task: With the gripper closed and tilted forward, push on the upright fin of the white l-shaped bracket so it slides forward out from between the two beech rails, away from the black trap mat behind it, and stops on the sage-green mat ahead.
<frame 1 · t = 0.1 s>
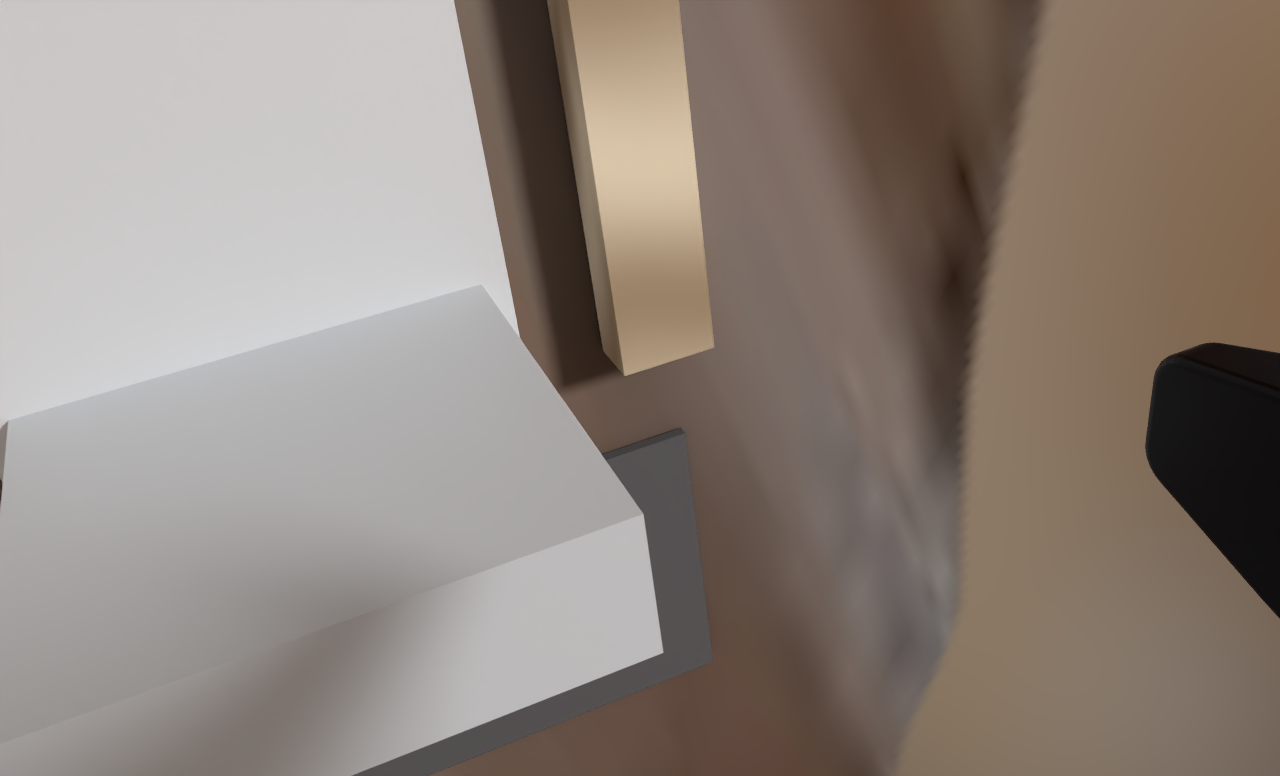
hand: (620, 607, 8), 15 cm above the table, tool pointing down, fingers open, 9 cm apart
white l-shaped bracket: (142, 3, 18), on the table, touching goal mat
channel: (174, 96, 19), on the table
trap mat: (368, 670, 26), on the table
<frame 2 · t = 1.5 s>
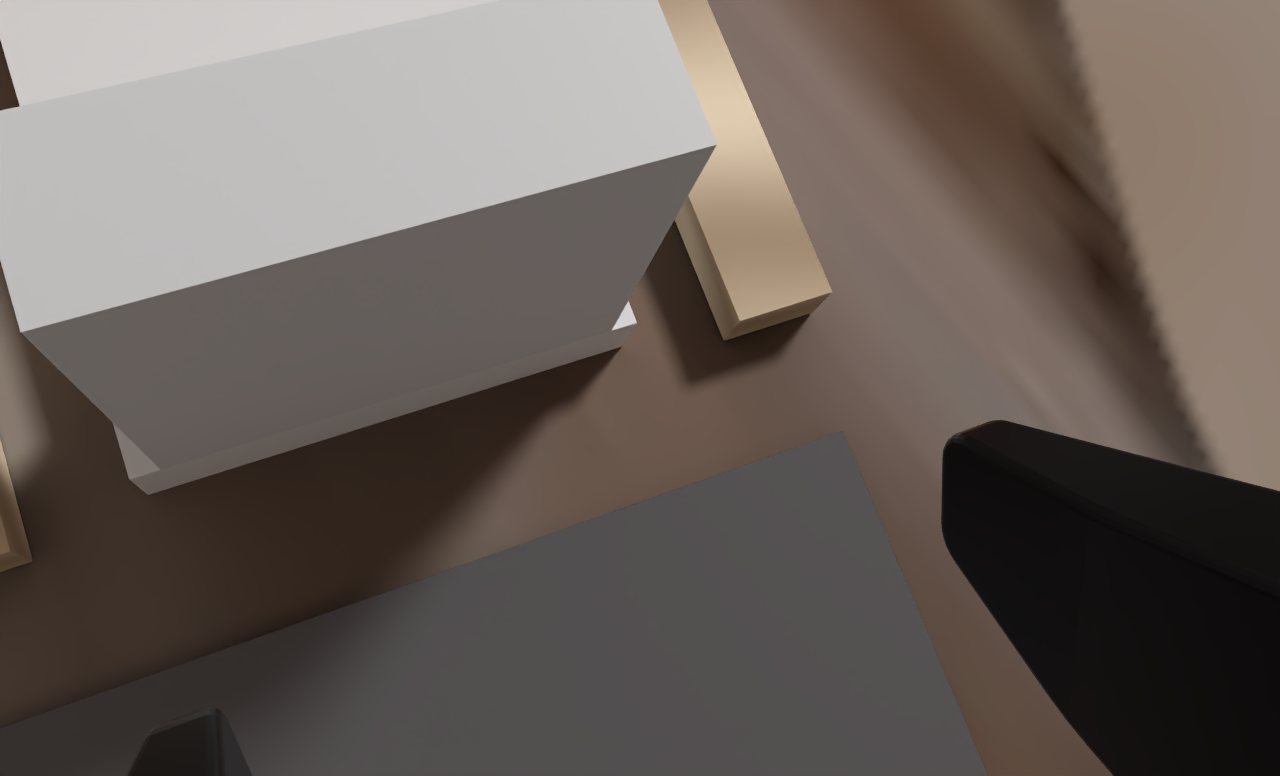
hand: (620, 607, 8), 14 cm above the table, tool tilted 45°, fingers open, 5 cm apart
white l-shaped bracket: (270, 41, 23), on the table, touching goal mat
channel: (293, 111, 23), on the table
trap mat: (515, 761, 20), on the table
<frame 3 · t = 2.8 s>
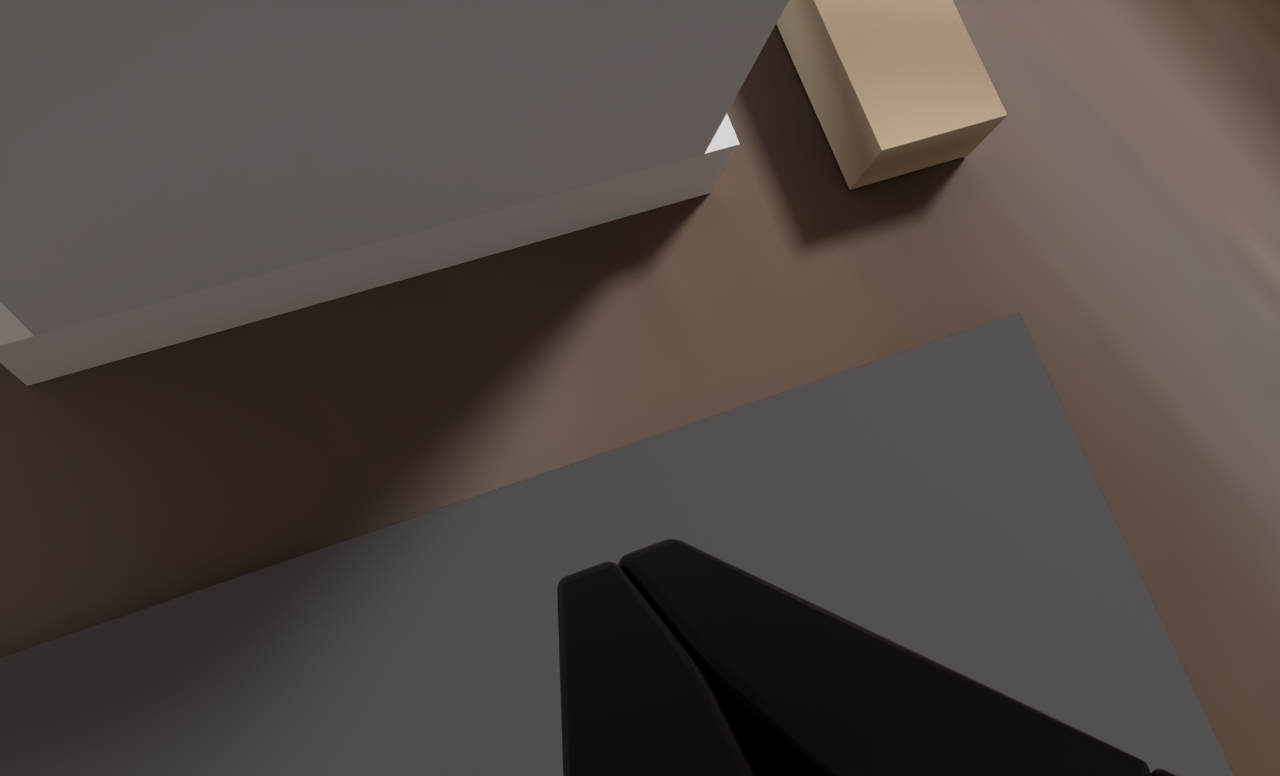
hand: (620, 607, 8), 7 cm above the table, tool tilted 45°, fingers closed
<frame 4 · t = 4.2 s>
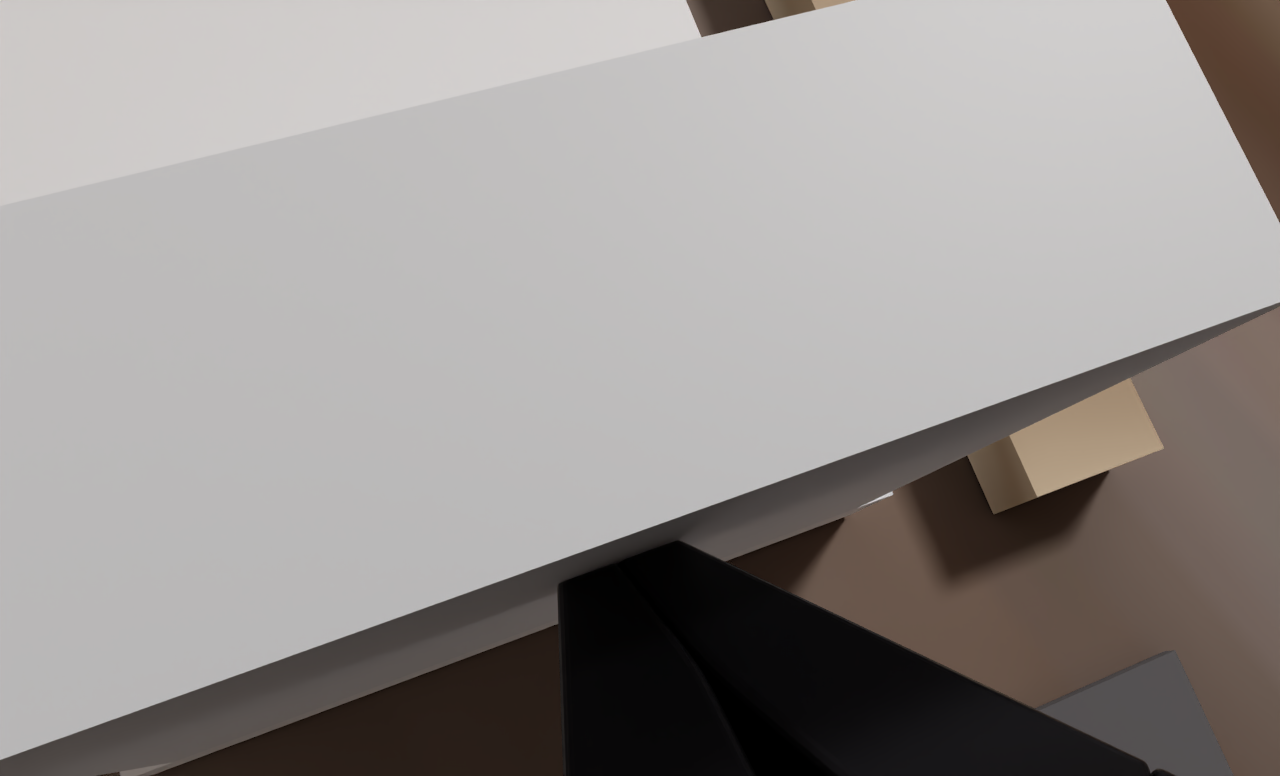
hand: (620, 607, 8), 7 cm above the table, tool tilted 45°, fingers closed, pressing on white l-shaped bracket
white l-shaped bracket: (333, 70, 16), on the table, touching gripper
channel: (369, 182, 16), on the table
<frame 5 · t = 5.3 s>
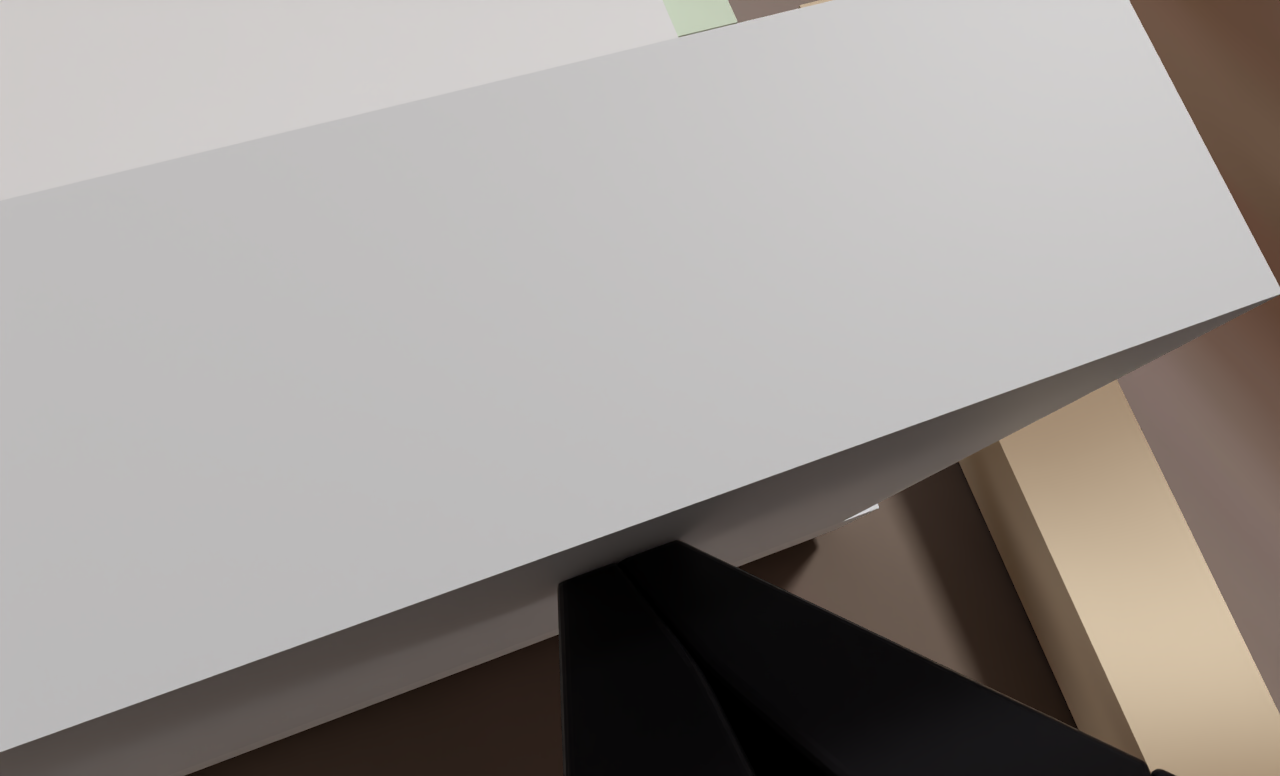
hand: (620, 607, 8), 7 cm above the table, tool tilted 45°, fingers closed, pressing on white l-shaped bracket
white l-shaped bracket: (317, 86, 16), on the table, touching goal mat, gripper
channel: (524, 650, 15), on the table
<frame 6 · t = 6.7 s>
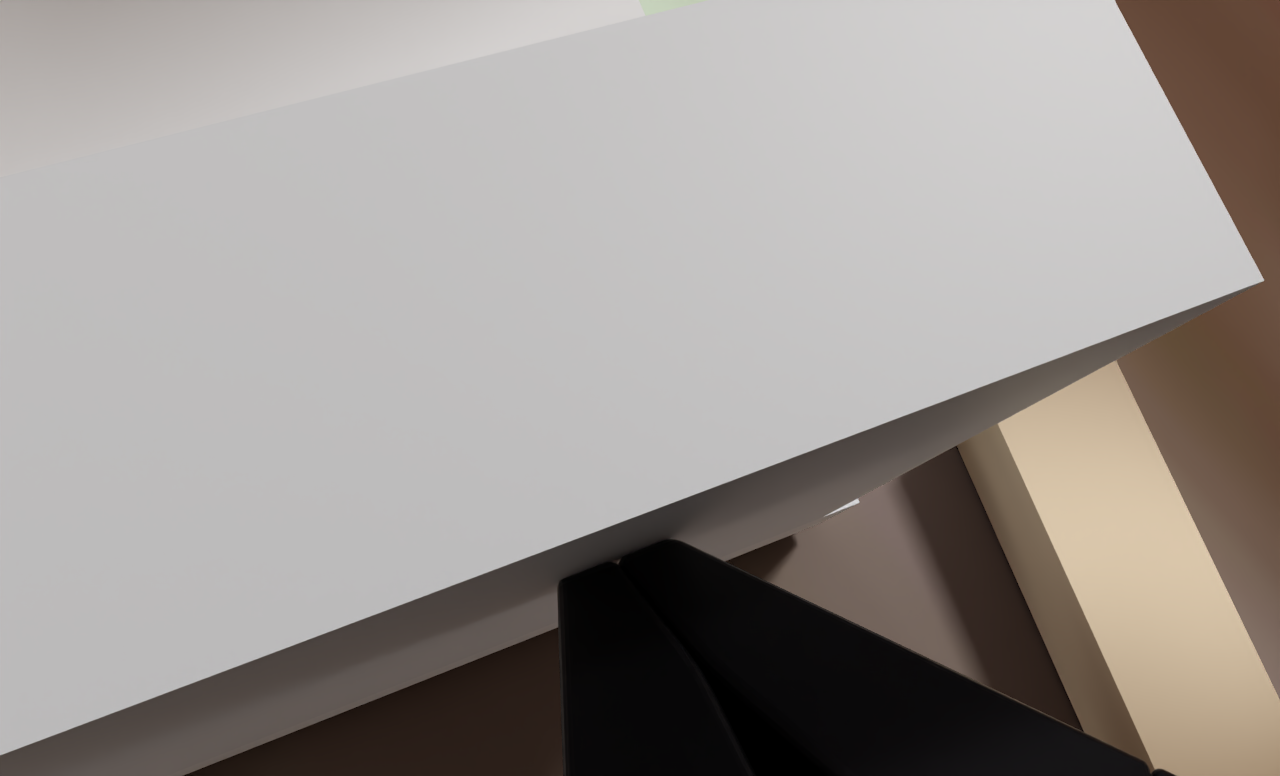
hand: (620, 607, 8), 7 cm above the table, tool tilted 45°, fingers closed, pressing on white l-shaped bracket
white l-shaped bracket: (280, 79, 16), resting on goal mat, touching gripper
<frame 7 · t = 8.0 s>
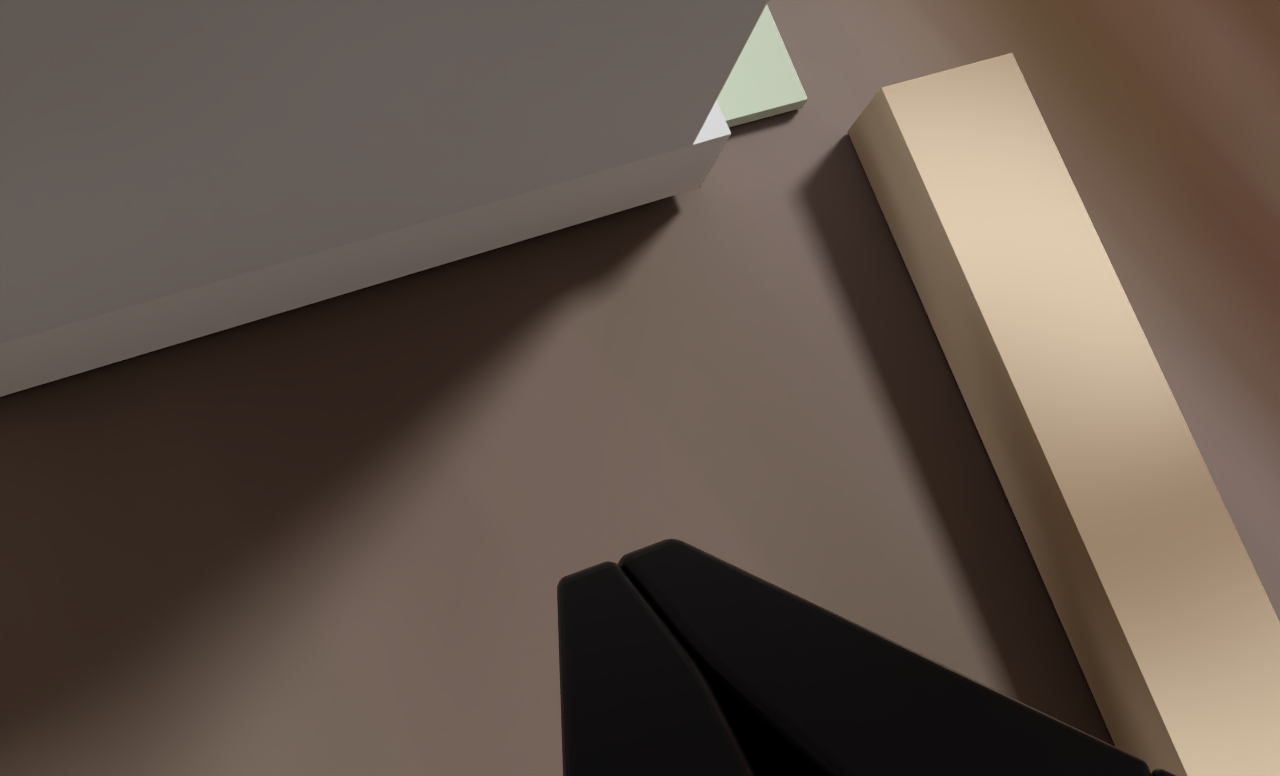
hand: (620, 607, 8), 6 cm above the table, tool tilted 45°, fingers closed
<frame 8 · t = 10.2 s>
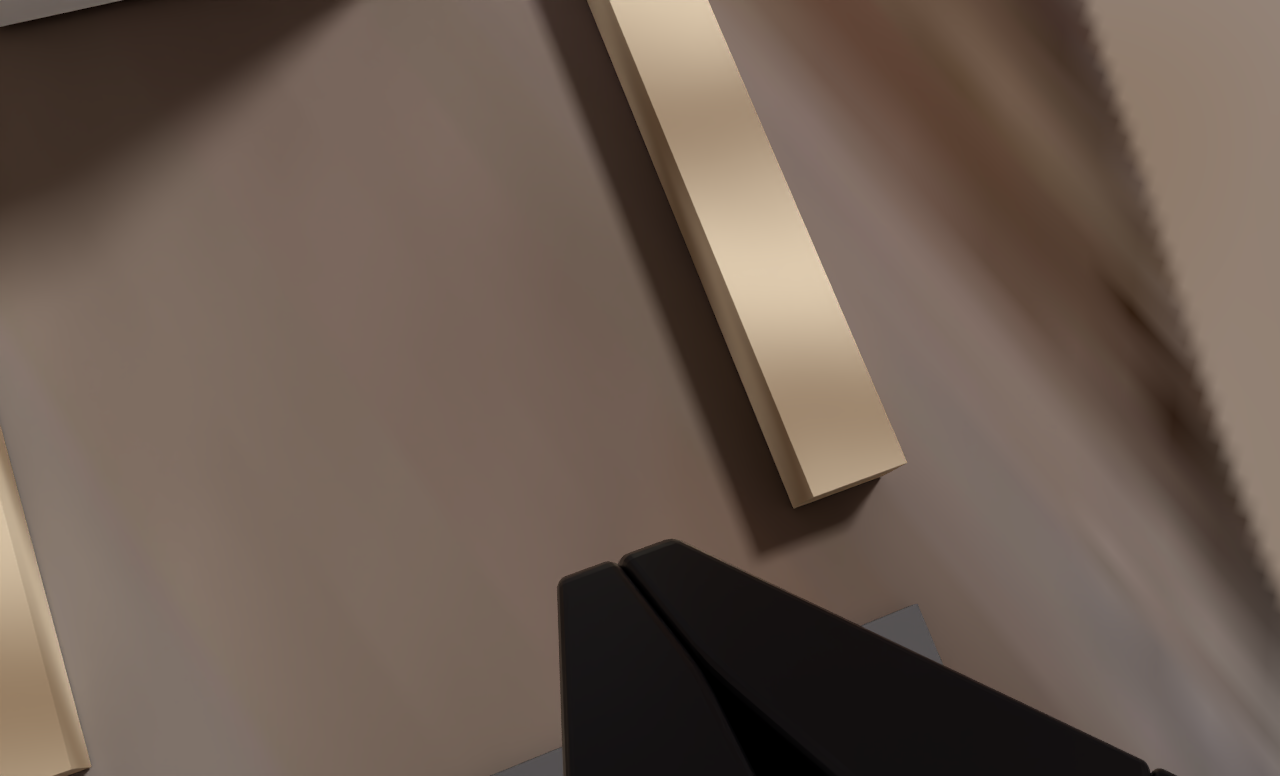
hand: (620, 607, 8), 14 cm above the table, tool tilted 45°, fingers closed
channel: (351, 275, 22), on the table
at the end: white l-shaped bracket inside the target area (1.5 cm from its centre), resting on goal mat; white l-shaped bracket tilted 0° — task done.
